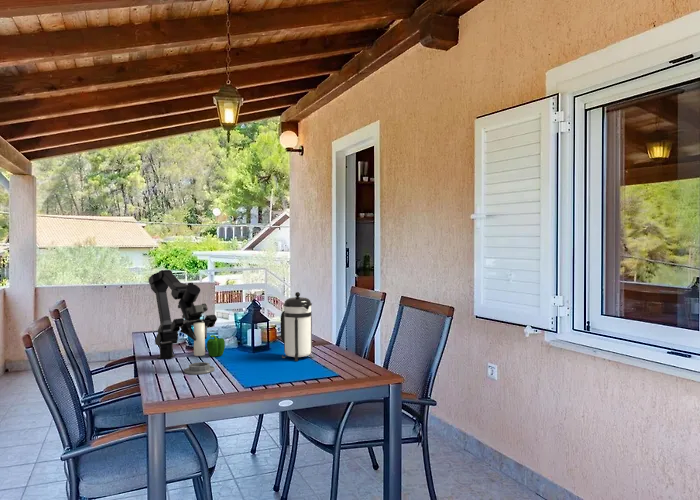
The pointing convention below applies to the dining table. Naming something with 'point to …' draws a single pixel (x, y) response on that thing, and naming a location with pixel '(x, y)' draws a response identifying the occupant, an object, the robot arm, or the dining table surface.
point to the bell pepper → (215, 346)
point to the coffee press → (297, 327)
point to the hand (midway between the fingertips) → (200, 339)
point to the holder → (199, 368)
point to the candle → (199, 339)
